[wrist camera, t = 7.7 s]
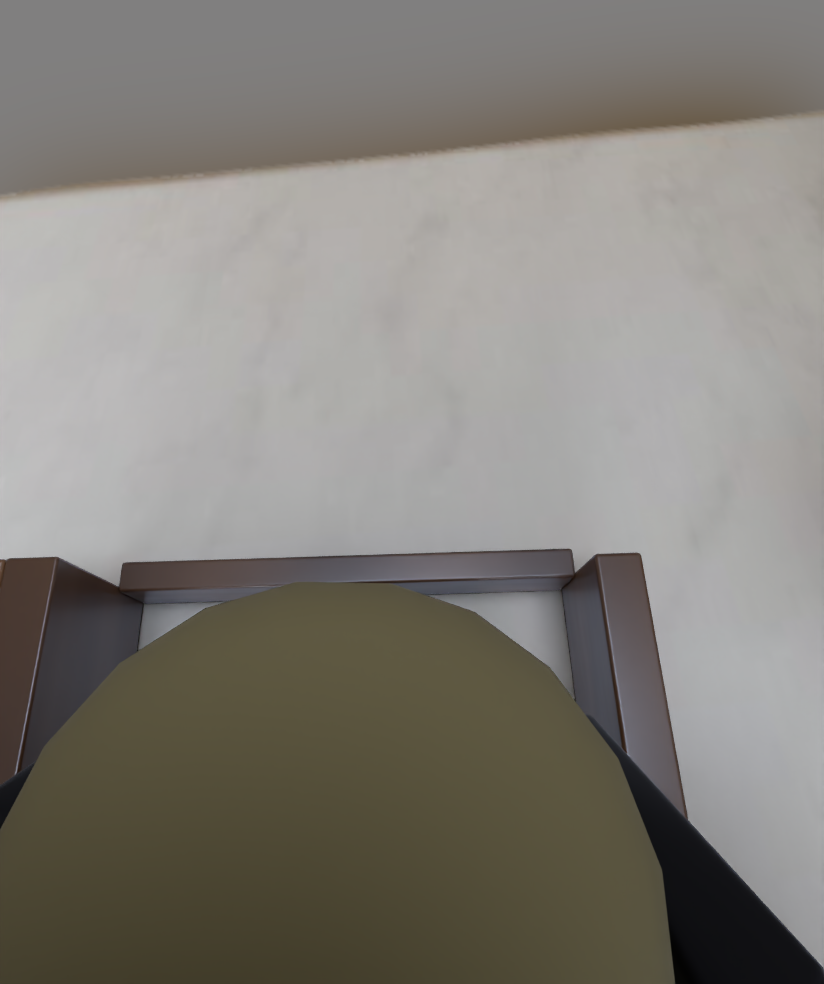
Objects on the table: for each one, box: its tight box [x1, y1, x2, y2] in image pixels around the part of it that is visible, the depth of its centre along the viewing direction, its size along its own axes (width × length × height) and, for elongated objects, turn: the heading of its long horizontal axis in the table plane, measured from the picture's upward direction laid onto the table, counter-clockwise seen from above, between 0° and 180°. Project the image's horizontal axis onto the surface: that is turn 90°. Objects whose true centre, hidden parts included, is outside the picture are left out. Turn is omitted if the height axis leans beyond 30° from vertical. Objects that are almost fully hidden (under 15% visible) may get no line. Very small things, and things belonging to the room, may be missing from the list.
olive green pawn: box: [0, 582, 675, 984], centre depth 8 cm, size 6×6×11 cm
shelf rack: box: [0, 549, 688, 820], centre depth 12 cm, size 24×10×4 cm, turn 92°
